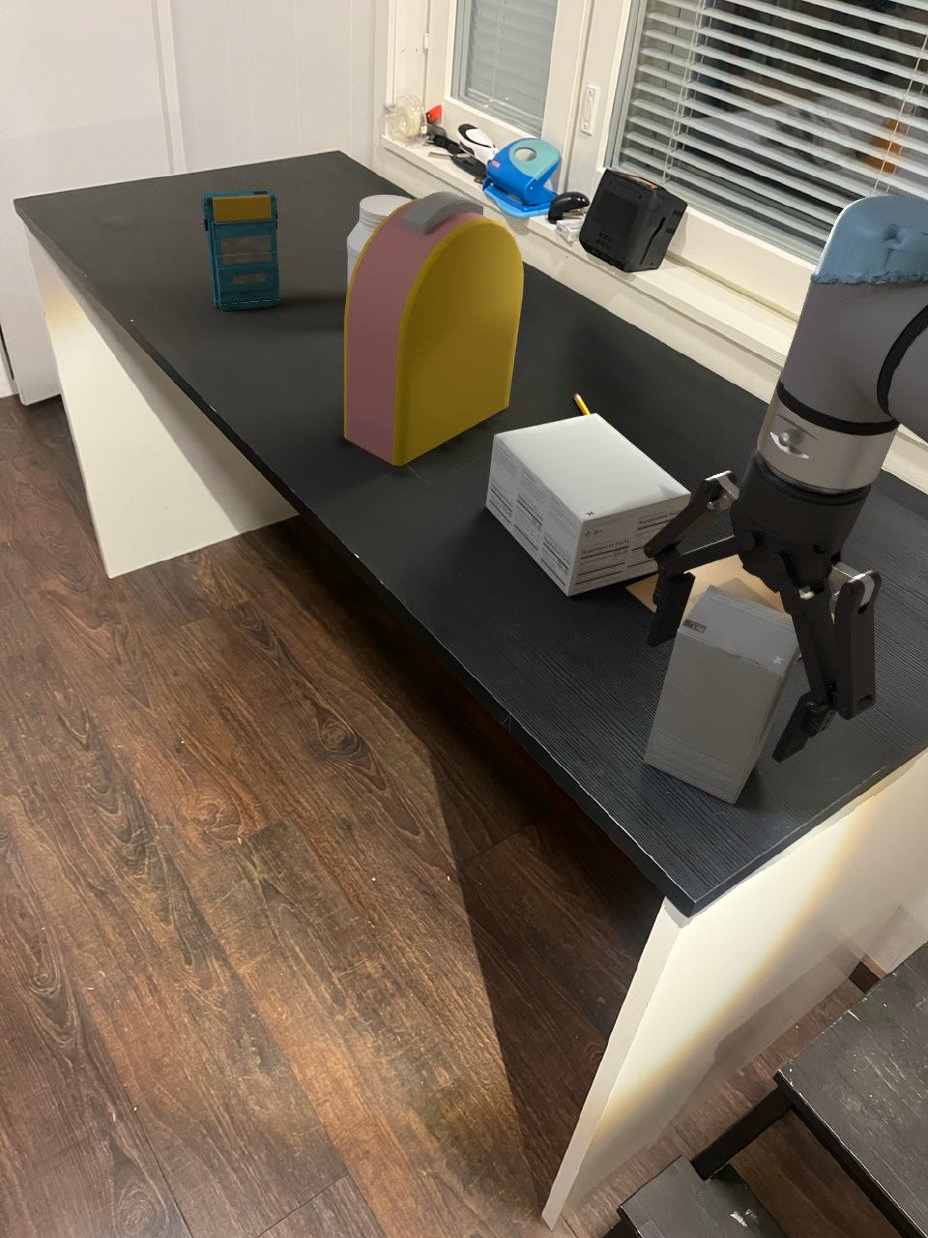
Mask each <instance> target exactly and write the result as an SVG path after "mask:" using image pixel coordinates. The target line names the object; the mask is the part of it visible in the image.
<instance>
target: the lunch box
mask: <svg viewBox="0 0 928 1238" xmlns="http://www.w3.org/2000/svg"><path fill="white" fill-rule="evenodd" d="M484 208H485V207H484V205H483V203H481V202H478V201H476V200H473V199H471V198H468V197H466V196H463V195H460V194H458V193H455V192H451V191H445V190H444V191H437V192H436V191H435V192H433V193H430V194H428V195H426V196H424V197H422V198H414V199H412V201H410V202H408V203H406V204H404V205H402V206H400V207H398V208H397V209H395V210H394V211H393V212H392V213H391V214H390V215H389V216H388V217H387V218H385V219H384V220H383V221H382V222H381V223H380V224H379V225H378V227H377V228H376V229H375V231H374V232H373V234H372V235H371V236H370V238H369V239H368V241H367V242H366V244H365V245H364V247H363V249H362V252H361V254H360V256H359V258H358V260H357V262H356V264H355V267H354V269H353V273H352V276H351V280H350V283H349V287H348V286H347V292H346V296H345V297H346V298H345V308H344V318H343V321H344V322H343V323H344V324H343V334H344V335H343V338H344V339H343V347H344V349H343V366H344V367H343V388H344V389H343V437H344V438H345V439H346V440H347V441H349V442H350V443H352V444H354V445H356V446H358V447H360V448H361V449H363V450H365V451H367V452H369V453H371V454H372V455H374V456H376V457H378V458H379V459H381V460H383V461H385V462H387V463H388V464H389V465H392V466H395V467H402V466H404V465H406V464H408V463H409V462H411V461H413V460H415V459H417V458H419V457H420V456H422V455H424V454H426V453H428V452H429V451H431V450H433V449H435V448H436V447H438V446H441V445H442V444H444V443H446V442H447V441H449V440H451V439H453V438H455V437H456V436H458V435H459V434H462V433H463V432H466V431H467V430H469V429H471V428H473V427H474V426H476V425H478V424H480V423H481V422H483V421H485V420H487V419H489V418H491V417H492V416H494V415H496V414H498V413H500V412H501V411H503V410H505V409H507V408H509V403H510V396H511V395H510V394H511V387H512V379H513V373H514V372H513V371H514V366H515V365H514V364H515V357H516V348H517V341H518V333H519V326H520V320H521V319H520V318H521V310H522V303H523V295H524V279H525V278H524V277H525V272H524V265H523V264H524V263H523V257H522V252H521V250H520V248H519V245H518V243H517V239H516V238H515V236H514V234H513V233H512V231H510V229H508V227H506V225H504V223H502V222H501V221H498V220H496V219H493V218H491V217H489V216H485V215H484Z"/></svg>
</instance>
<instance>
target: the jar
mask: <svg viewBox="0 0 928 1238" xmlns="http://www.w3.org/2000/svg"><path fill="white" fill-rule="evenodd" d="M412 200H413V199H411V198H409V197H405V196H402V195H401V196H400V195H395V194H375V195H369V196H367V197H365V198H362V199H361V200H360V202H359V211H358V212H359V219H358V221H357V222H356V224H355V226H354V227H353V228H352V230H351V232H350V233H349V234H348V236H347V238H346V249H347V288H348V287H349V283H350V280H351V276H352V273H353V269H354V267H355V264H356V262H357V260H358V258H359V256H360V254H361V252H362V249H363V247H364V245H365V244H366V242H367V241H368V239H369V238H370V236H371V235H372V234H373V232H374V231H375V229H376V228H377V227H378V225H379V224H380V223H381V222H382V221H383V220H384V219H385V218H387V217H388V216H389V215H390V214H391V213H392V212H393V211H394V210H395V209H397V208H398V207H400V206H402V205H404V204H406V203H408V202H410V201H412Z"/></svg>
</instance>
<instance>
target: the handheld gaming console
mask: <svg viewBox="0 0 928 1238" xmlns="http://www.w3.org/2000/svg"><path fill="white" fill-rule="evenodd" d="M203 196H204V198H203V199H201V204H202V207H201V208H202V210H203V211H202V215H203V217H204V218H203V222H204V223H203V224H204V231H205V232H206V237H207V246H208V247H207V248H208V258H209V268H210V279H211V293H212V299H213V305H214V307H215V309H220V310H222V311H223V312H232V311H244V310H253V309H254V310H255V309H266V308H276V307H277V305H279V304H280V271H279V262H278V259H279V258H278V239H277V230H278V219H279V216H278V215H279V214H278V213H279V212H278V204H277V203H278V199H277V197H276V194H275V193H274V192H273V190H266V189H258V190H257V189H256V190H237V191H218V192H216V191H215V192H208V193H203ZM276 299H279V300H276ZM263 300H270V301H263ZM216 301H219V302H216ZM249 301H259V302H249ZM240 302H241V303H240ZM242 302H248V303H242ZM232 303H233V304H232ZM234 303H237V304H234ZM221 304H222V305H221ZM224 304H226V305H224Z"/></svg>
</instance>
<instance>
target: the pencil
mask: <svg viewBox="0 0 928 1238" xmlns="http://www.w3.org/2000/svg"><path fill="white" fill-rule="evenodd" d="M573 399H574V400H575V402H576V404H577V406H578V407H579V409H580V411H581V412H582V414H583V416H585V415H590V414H591V413H590V411H589V410H588V408H587V406H586V404H585V403H584V401H583V400H582V398H581V396H580V393H574V395H573Z"/></svg>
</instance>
